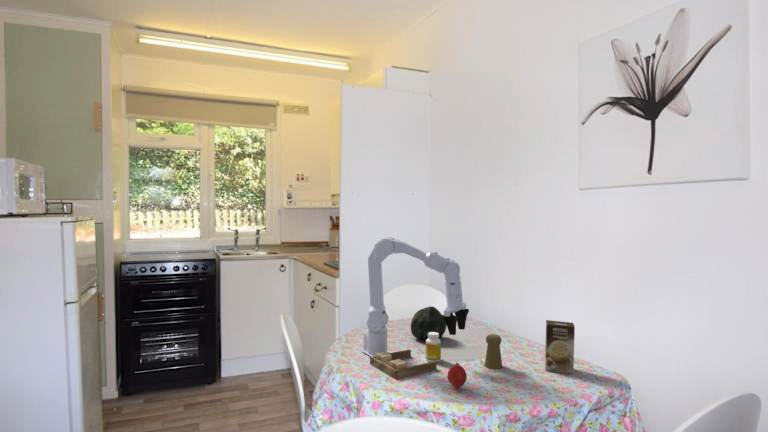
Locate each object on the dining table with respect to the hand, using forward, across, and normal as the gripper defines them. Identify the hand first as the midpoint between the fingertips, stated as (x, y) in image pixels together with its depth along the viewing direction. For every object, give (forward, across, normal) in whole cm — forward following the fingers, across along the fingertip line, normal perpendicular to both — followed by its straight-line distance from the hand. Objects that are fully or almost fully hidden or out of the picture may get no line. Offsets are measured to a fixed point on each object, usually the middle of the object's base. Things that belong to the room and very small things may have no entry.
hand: (457, 331), depth 160 cm
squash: (+9, +17, +22) cm, 30 cm away
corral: (+9, -17, +13) cm, 23 cm away
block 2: (+9, -24, +11) cm, 28 cm away
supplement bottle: (+10, -5, +8) cm, 14 cm away
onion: (+11, -24, -10) cm, 28 cm away
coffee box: (+14, +12, -31) cm, 36 cm away
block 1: (+8, -20, +19) cm, 29 cm away
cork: (+12, +2, -12) cm, 17 cm away
